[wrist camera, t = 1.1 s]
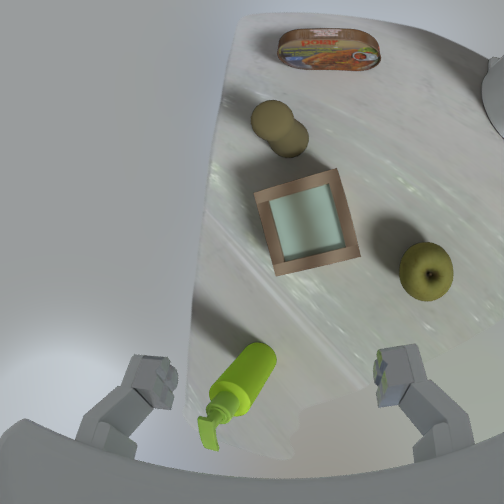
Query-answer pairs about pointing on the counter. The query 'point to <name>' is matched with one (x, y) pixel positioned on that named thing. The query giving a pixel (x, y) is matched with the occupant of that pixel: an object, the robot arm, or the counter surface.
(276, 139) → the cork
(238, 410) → the soap dispenser
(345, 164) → the counter surface
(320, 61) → the tin
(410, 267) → the apple
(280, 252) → the brown wooden square box
